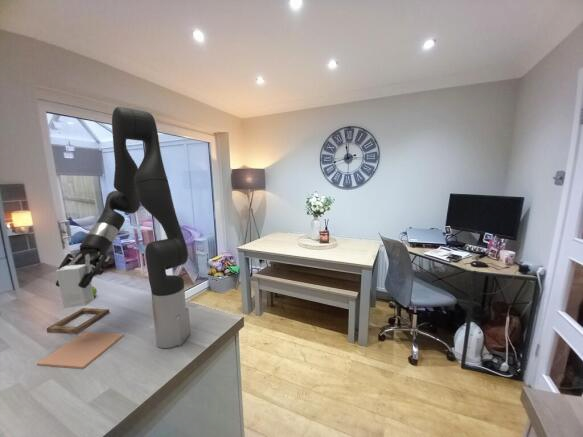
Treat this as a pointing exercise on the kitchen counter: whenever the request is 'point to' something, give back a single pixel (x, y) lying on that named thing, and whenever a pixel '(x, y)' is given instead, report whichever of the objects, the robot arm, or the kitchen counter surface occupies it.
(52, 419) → the kitchen counter surface
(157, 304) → the robot arm
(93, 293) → the snail figurine
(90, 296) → the skincare box
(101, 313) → the walnut collar
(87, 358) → the terracotta mat
